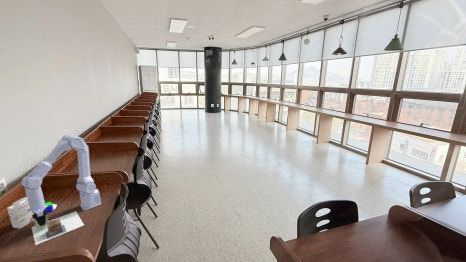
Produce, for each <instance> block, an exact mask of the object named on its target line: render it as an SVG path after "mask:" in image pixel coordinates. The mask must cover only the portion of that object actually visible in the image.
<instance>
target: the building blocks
mask: <svg viewBox="0 0 466 262" xmlns="http://www.w3.org/2000/svg"><path fill="white" fill-rule="evenodd" d="M44 201H45V204H46V207H45V209H44V212H45V211H47V214H49V213H53V211H54V210H56V208H57V204H54V203H53V202H51V201H49V200H47V199H46V198H44Z"/></svg>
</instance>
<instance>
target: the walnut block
mask: <svg viewBox="0 0 466 262" xmlns="http://www.w3.org/2000/svg"><path fill="white" fill-rule="evenodd" d="M55 219H56V218H55ZM52 220H53V219H52ZM49 221H50V220H49ZM46 224H47V228H48V232H49V235H50V237H51V236H53V235H56V234H58V233H61V232H63V230H62V225H61V222H60V219H56V220H53V221H50V222H48V223H46Z"/></svg>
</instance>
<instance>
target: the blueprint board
mask: <svg viewBox="0 0 466 262" xmlns="http://www.w3.org/2000/svg"><path fill="white" fill-rule="evenodd" d="M56 219H60V222H61V225H62V230H63V232H61V233H58V234H56V235H53V236H51V237H50V235H49V232H48V228H47V226H44V227H42V228H39V229H36V226H35V225H34V226H32V227H31V232H32V235H33V240H34V244H35V246H37V245H39V244H41V243H44V242H46V241H50V240H51V239H53V238H56V237H59V236H61V235H64V234H66V233H69V232H72V231H74V230H76V229H78V228H81V227H83V226H85V224H84V222H83V221H82V219H81V218H80V215H79V214H78V212H77V211H72V212H70V213H68V214H65V215H62V216H59V217H56V218H54V219H51V220H49V222H50V221H53V220H56Z"/></svg>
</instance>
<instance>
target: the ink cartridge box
mask: <svg viewBox="0 0 466 262" xmlns="http://www.w3.org/2000/svg"><path fill="white" fill-rule="evenodd" d="M29 208H30V207H29V203H28V199H27V196H25V197H22V198H20V199H19V200H16V201H14V202H13V203H12V205H10V206H9V207H7V208H6V210H7V213H8V215H9V219H10V223H11V225H12V228H14V229H21V228H23V227H25V226H26V225H28V224H29V225H30V223H32V222H34V218H33V217H32V215H34V213H32V212H31V211H30V212H27V209H29Z"/></svg>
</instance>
